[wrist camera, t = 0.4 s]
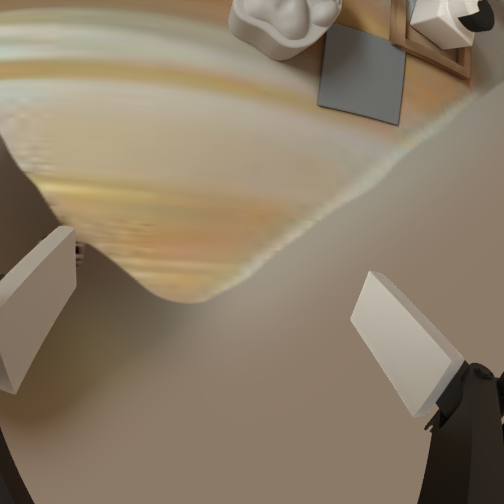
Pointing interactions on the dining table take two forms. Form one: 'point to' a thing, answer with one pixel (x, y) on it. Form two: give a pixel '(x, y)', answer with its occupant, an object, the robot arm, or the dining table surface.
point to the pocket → (399, 40)
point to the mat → (361, 74)
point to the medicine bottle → (452, 21)
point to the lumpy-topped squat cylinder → (282, 24)
